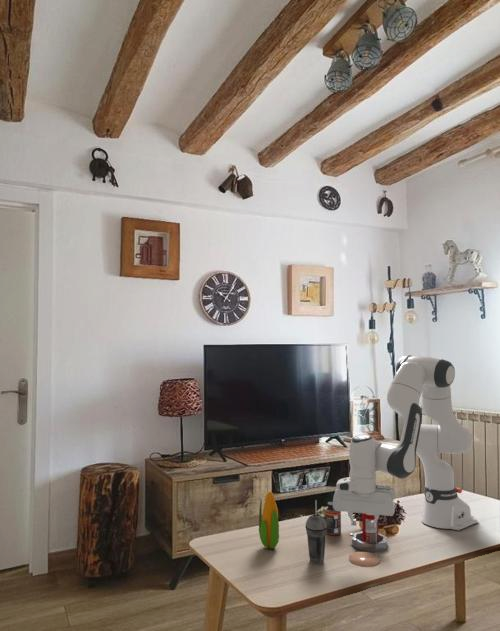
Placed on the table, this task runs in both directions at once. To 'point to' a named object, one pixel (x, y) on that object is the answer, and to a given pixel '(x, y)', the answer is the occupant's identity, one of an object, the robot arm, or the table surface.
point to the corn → (269, 522)
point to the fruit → (322, 511)
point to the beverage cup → (316, 537)
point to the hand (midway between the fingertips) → (363, 526)
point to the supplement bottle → (333, 520)
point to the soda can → (369, 529)
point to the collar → (369, 546)
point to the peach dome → (364, 559)
